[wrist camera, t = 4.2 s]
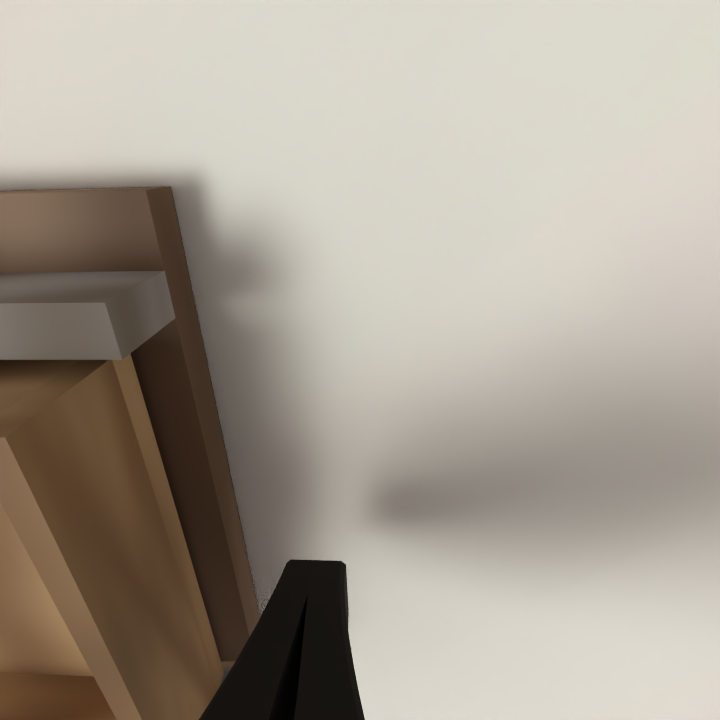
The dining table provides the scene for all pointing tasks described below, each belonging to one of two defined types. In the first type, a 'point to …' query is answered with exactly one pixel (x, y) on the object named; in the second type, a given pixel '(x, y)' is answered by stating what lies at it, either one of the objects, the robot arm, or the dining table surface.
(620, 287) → the dining table surface
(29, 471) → the box
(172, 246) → the bay
